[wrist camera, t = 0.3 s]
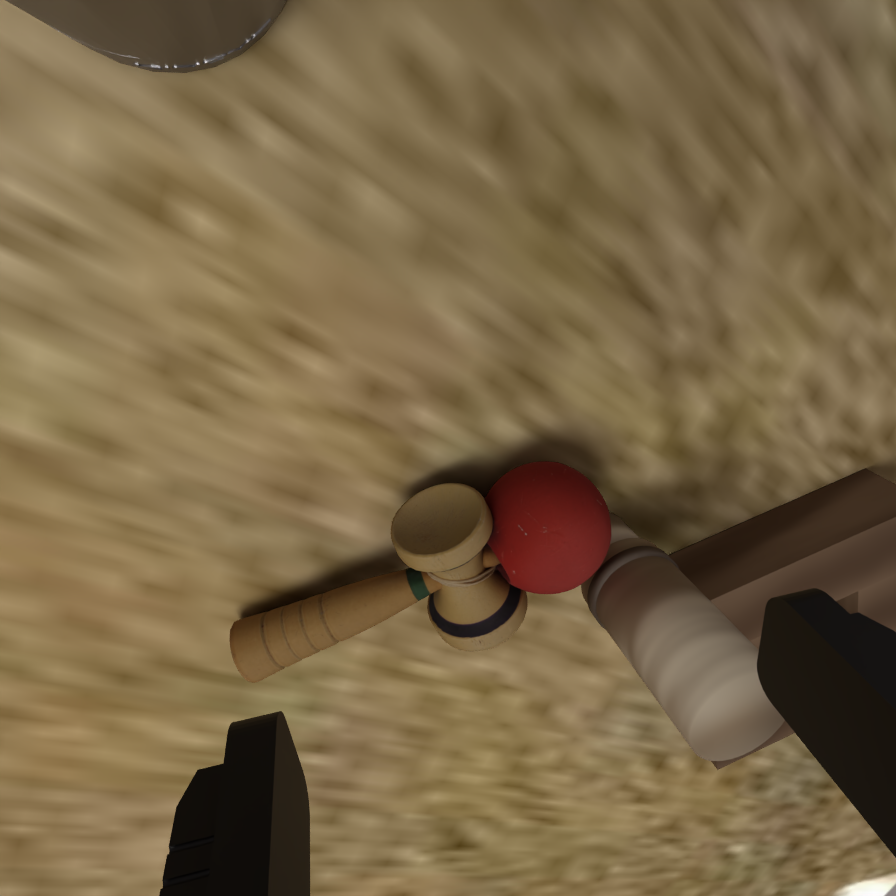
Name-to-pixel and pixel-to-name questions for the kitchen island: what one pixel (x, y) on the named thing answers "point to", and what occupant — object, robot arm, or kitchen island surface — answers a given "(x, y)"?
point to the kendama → (451, 568)
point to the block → (803, 559)
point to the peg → (681, 648)
